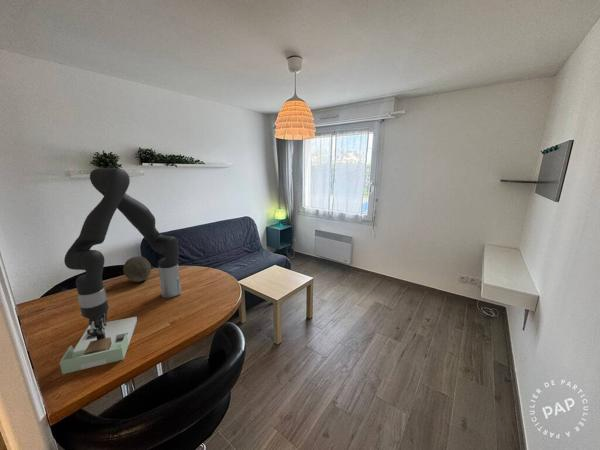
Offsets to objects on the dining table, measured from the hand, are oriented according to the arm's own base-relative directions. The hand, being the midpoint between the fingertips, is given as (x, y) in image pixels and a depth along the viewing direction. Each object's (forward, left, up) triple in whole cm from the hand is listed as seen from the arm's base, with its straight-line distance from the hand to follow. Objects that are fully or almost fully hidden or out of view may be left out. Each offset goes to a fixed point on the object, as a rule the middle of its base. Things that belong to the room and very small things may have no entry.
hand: (101, 340), depth 90 cm
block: (0, +5, -1) cm, 5 cm away
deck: (0, -2, -3) cm, 4 cm away
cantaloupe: (-2, -57, -3) cm, 57 cm away
